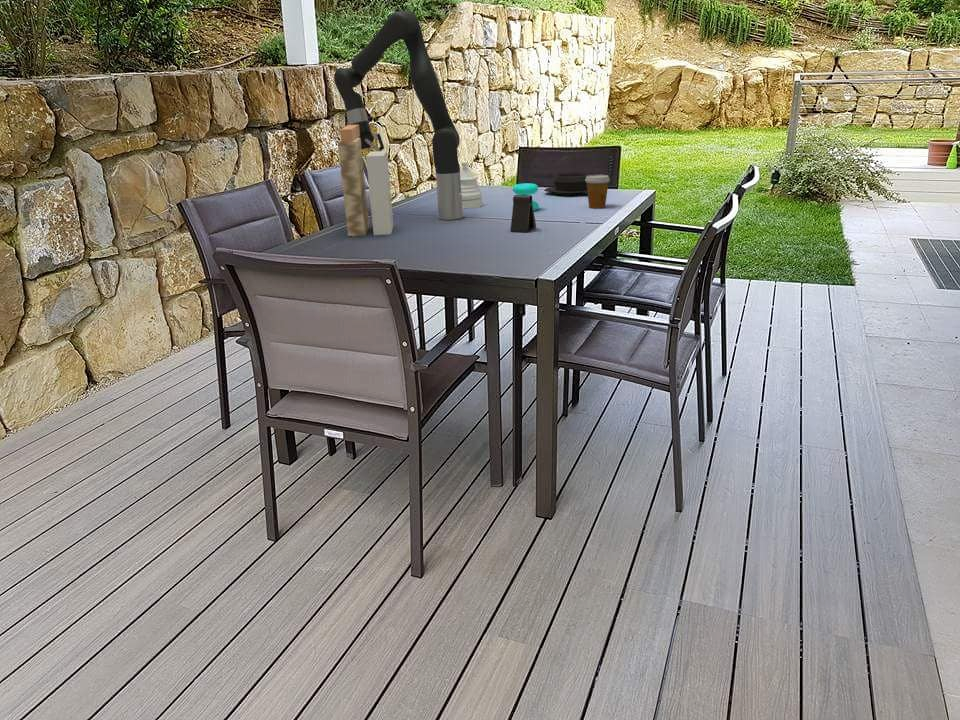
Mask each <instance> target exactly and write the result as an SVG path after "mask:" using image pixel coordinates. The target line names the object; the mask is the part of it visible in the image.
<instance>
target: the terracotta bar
mask: <svg viewBox="0 0 960 720" xmlns="http://www.w3.org/2000/svg"><path fill="white" fill-rule="evenodd" d="M339 134H340V141H341V142H353V141H354V140H356V139H357V138H358V137H359V136H360V130H359V125H349V124H347V125H345V126H344V127H342V128H341V129H339Z"/></svg>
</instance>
